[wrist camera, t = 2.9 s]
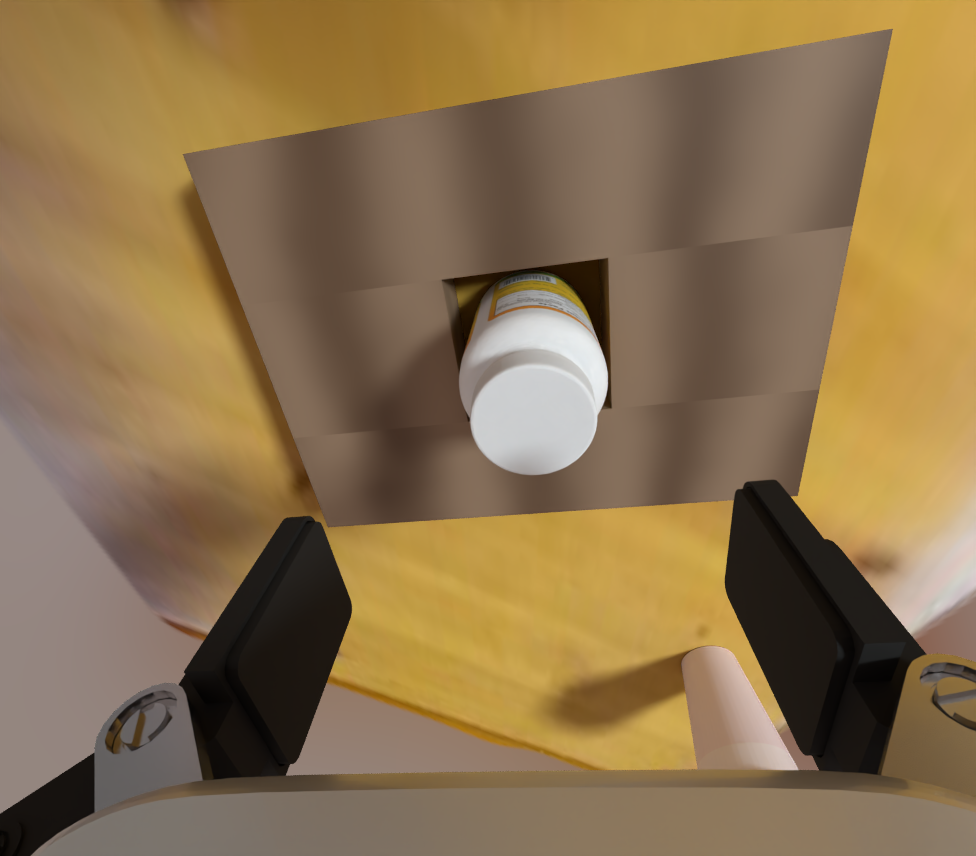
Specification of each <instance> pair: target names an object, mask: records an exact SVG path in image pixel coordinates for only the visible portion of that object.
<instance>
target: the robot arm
mask: <svg viewBox="0 0 976 856" xmlns="http://www.w3.org/2000/svg"><path fill="white" fill-rule="evenodd" d="M725 588H726V593H727V596H728V598H729V601H730V603H731V605H732V607H733V609H734V611H735V613H736V615H737V618H738V620H739V622H740V624H741V626H742V628H743V630H744V632H745V635H746V637H747V639H748V641H749V643H750V645H751V647H752V649H753V652H754V654H755V656H756V658H757V660H758V662H759V664H760V666H761V669H762V671H763V673H764V675H765V677H766V679H767V681H768V683H769V686H770V688H771V690H772V692H773V694H774V696H775V698H776V700H777V703H778V705H779V707H780V709H781V711H782V713H783V715H784V717H785V720H786V722H787V724H788V726H789V728H790V730H791V732H792V734H793V736H794V738H795V741H796V743H797V745H798V747H799V749H800V750H801V752H802V753H803V754H804V755H812V756H813V758H814V760H815V763H816V765H817V767H818V769H819V771H816V770H730V769H707V770H585V771H511V772H509V771H507V772H444V773H443V772H439V773H383V774H334V775H332V774H331V775H293V776H286V773H287V771H288V768H289V765H290V764H293V763H295V762H296V761H297V759H298V758H299V755H300V753H301V750H302V748H303V745H304V742H305V739H306V737H307V734H308V731H309V729H310V726H311V723H312V721H313V718H314V715H315V712H316V710H317V707H318V704H319V702H320V699H321V696H322V693H323V691H324V688H325V685H326V683H327V680H328V677H329V675H330V672H331V669H332V666H333V664H334V661H335V658H336V656H337V653H338V650H339V647H340V645H341V642H342V639H343V637H344V634H345V631H346V629H347V626H348V623H349V620H350V618H351V613H352V604H351V600H350V597H349V595H348V592H347V589H346V587H345V584H344V582H343V579H342V576H341V574H340V571H339V568H338V566H337V563H336V561H335V558H334V555H333V553H332V550H331V547H330V545H329V542H328V539H327V537H326V534H325V532H324V529H323V526H322V524H321V523H320V522H315V520H314V519H313V518H312V517H311V516H303V517H290V518H286V519H284V520H283V521H282V523H281V524H280V526H279V527H278V529H277V530H276V532H275V533H274V535H273V536H272V538H271V539H270V541H269V542H268V544H267V546H266V547H265V549H264V550H263V552H262V553H261V555H260V556H259V558H258V559H257V561H256V562H255V564H254V565H253V567H252V568H251V570H250V571H249V573H248V575H247V576H246V578H245V579H244V581H243V582H242V584H241V585H240V587H239V588H238V590H237V591H236V593H235V594H234V596H233V597H232V599H231V600H230V602H229V604H228V605H227V607H226V608H225V610H224V611H223V613H222V614H221V616H220V617H219V619H218V620H217V622H216V623H215V625H214V626H213V628H212V630H211V631H210V633H209V634H208V636H207V637H206V639H205V640H204V642H203V643H202V645H201V646H200V648H199V650H198V651H197V652H196V654H195V655H194V657H193V659H192V660H191V662H190V663H189V665H188V666H187V668H186V669H185V671H184V673H185V676H184V677H183V679H182V680H181V682H180V683H179V685H177V684H175V683H163V684H159V685H154V686H151V687H149V688H147V689H145V690H143V691H140V692H139V693H137V694H136V695H134V696H133V697H131V698H130V699H128V700H127V701H126V702H124V704H122V705H121V706H120V707H119V708H118V709H117V710H115V711H114V712H113V714H112V715H111V716H110V717H109V719H108V720H107V721H106V722H105V723H104V725H103V727H102V729H101V730H100V732H99V734H98V736H97V739H96V744H95V753H93V754H92V755H90V756H88V757H87V758H85V759H84V760H82V761H81V762H79V763H78V764H76V765H75V766H73V767H72V768H70V769H68V770H67V771H65V772H64V773H62V774H61V775H59V776H58V777H56V778H55V779H53V780H52V781H50V782H48V783H47V784H46V785H44V786H42V787H41V788H39V789H38V790H36V791H35V792H33V793H32V794H30V795H28V796H27V797H25V798H24V799H22V800H21V801H20V802H18V803H16V804H15V805H13V806H12V807H10V808H8V809H7V810H5V811H4V812H3V813H1V814H0V856H976V662H974V661H970V660H967V659H964V658H961V657H958V656H953V655H945V654H929V655H927V654H926V653H925V652H924V651H923V649H922V648H921V647H920V646H919V644H918V643H917V642H916V641H915V640H914V638H913V637H912V636H911V635H910V633H909V632H908V631H907V630H906V629H905V627H904V626H903V625H902V624H901V622H900V621H899V620H898V619H897V618H896V616H895V615H894V614H893V613H892V611H891V610H890V609H889V608H888V606H887V605H886V604H885V603H884V602H883V600H882V599H881V598H880V597H879V595H878V594H877V593H876V592H875V591H874V589H873V588H872V587H871V586H870V584H869V583H868V582H867V581H866V580H865V578H864V577H863V576H862V575H861V573H860V572H859V571H858V570H857V568H856V567H855V566H854V565H853V564H852V562H851V561H850V560H849V559H848V557H847V556H846V555H845V554H844V553H843V551H842V550H841V549H840V548H839V547H838V546H837V545H836V544H835V543H834V542H833V541H830V540H828V539H824V538H823V537H822V536H821V535H820V533H819V532H818V531H817V529H816V528H815V527H814V526H813V524H812V523H811V522H810V521H809V519H808V518H807V517H806V516H805V514H804V513H803V512H802V511H801V509H800V508H799V507H798V506H797V504H796V503H795V502H794V501H793V499H792V498H791V497H790V495H789V494H788V493H787V492H786V490H785V489H784V488H783V487H782V485H781V484H780V483H779V482H778V481H777V480H774V479H773V480H760V481H748V482H745V484H744V486H743V489H737V490H736V492H735V496H734V504H733V513H732V522H731V530H730V539H729V548H728V556H727V565H726V574H725Z"/></svg>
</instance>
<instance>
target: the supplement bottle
mask: <svg viewBox="0 0 976 856" xmlns="http://www.w3.org/2000/svg"><path fill="white" fill-rule="evenodd" d="M607 388H608V372H607V366H606V362H605V358H604V355H603V352H602V350H601V347H600V344H599V342H598V339H597V337H596V334H595V331H594V329H593V326H592V323H591V320H590V318H589V315H588V312H587V309H586V307H585V305H584V303H583V301H582V299H581V297H580V295H579V294H578V293H577V291H576V290H575V289H574V287H572V286H571V285H570V284H569V283H568V282H567V281H566V280H564V279H563V278H561V277H559V276H557V275H555V274H552V273H549V272H545V271H540V270H524V271H519V272H515V273H512V274H510V275H507V276H505V277H503V278H502V279H500V280H499V281H497V282H496V283H495V284H494V285H493V286H491V287H490V288H489V290H488V291H487V292H486V293H485V295H484V296H483V298H482V299H481V301H480V304H479V305H478V308H477V311H476V314H475V317H474V321H473V325H472V328H471V331H470V335H469V338H468V341H467V345H466V348H465V351H464V354H463V358H462V362H461V367H460V374H459V389H460V396H461V400H462V403H463V406H464V408H465V410H466V412H467V414H468V416H469V417H470V427H471V432H472V436H473V438H474V440H475V443H476V444H477V446H478V448H479V449H480V451H481V452H482V453H483V454H484V455H485V456H486V457H487V458H488V459H489V460H490V461H491V462H493V463H494V464H496V465H497V466H499V467H501V468H503V469H505V470H507V471H510V472H513V473H518V474H523V475H542V474H548V473H552V472H555V471H558V470H560V469H563V468H565V467H567V466H569V465H570V464H572V463H573V462H575V461H576V460H577V459H578V458H580V456H581V455H582V454H583V453H584V452H585V451H586V450H587V448H588V447H589V445H590V444H591V442H592V440H593V437H594V435H595V432H596V427H597V416H598V414H599V412H600V410H601V408H602V406H603V404H604V401H605V398H606V394H607Z"/></svg>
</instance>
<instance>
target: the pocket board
mask: <svg viewBox="0 0 976 856" xmlns="http://www.w3.org/2000/svg"><path fill="white" fill-rule="evenodd" d="M892 30H893V29H889V30H883V31H878V32H872V33H866V34H861V35H855V36H849V37H844V38H838V39H832V40H827V41H821V42H815V43H810V44H804V45H798V46H793V47H787V48H781V49H776V50H770V51H764V52H759V53H753V54H747V55H742V56H736V57H730V58H725V59H719V60H713V61H708V62H702V63H696V64H691V65H685V66H680V67H674V68H668V69H663V70H657V71H651V72H646V73H640V74H634V75H629V76H623V77H617V78H612V79H606V80H600V81H595V82H589V83H583V84H578V85H572V86H566V87H561V88H555V89H549V90H544V91H538V92H532V93H527V94H521V95H515V96H510V97H504V98H498V99H493V100H487V101H481V102H476V103H470V104H464V105H459V106H453V107H448V108H442V109H436V110H431V111H425V112H419V113H414V114H408V115H402V116H397V117H391V118H385V119H380V120H374V121H368V122H363V123H357V124H351V125H346V126H340V127H334V128H329V129H323V130H317V131H312V132H306V133H300V134H295V135H289V136H283V137H278V138H272V139H266V140H261V141H255V142H249V143H244V144H238V145H233V146H227V147H221V148H216V149H210V150H204V151H199V152H193V153H187V154H183V156H184V158H185V161H186V163H187V166H188V169H189V171H190V174H191V176H192V179H193V181H194V184H195V187H196V189H197V192H198V194H199V197H200V199H201V202H202V205H203V207H204V210H205V212H206V215H207V217H208V220H209V222H210V225H211V228H212V230H213V233H214V235H215V238H216V240H217V243H218V246H219V248H220V251H221V253H222V256H223V258H224V261H225V264H226V266H227V269H228V271H229V274H230V276H231V279H232V282H233V284H234V287H235V289H236V292H237V294H238V297H239V300H240V302H241V305H242V307H243V310H244V312H245V315H246V318H247V320H248V323H249V325H250V328H251V330H252V333H253V336H254V338H255V341H256V343H257V346H258V348H259V351H260V354H261V356H262V359H263V361H264V364H265V366H266V369H267V372H268V374H269V377H270V379H271V382H272V384H273V387H274V390H275V392H276V395H277V397H278V400H279V402H280V405H281V408H282V410H283V413H284V415H285V418H286V420H287V423H288V426H289V428H290V431H291V433H292V436H293V438H294V441H295V444H296V446H297V449H298V451H299V454H300V456H301V459H302V462H303V464H304V467H305V469H306V472H307V474H308V477H309V480H310V482H311V485H312V487H313V490H314V492H315V495H316V498H317V500H318V503H319V505H320V508H321V510H322V513H323V516H324V518H325V521H326V523H327V526H328V527H339V526H354V525H369V524H384V523H399V522H414V521H429V520H444V519H459V518H473V517H488V516H503V515H518V514H533V513H548V512H563V511H578V510H593V509H608V508H623V507H638V506H653V505H668V504H682V503H697V502H712V501H727V500H734V496H735V492H736V490H737V489H743V486H744V484H745V482H748V481H760V480H773V479H774V480H777V481H778V482H779V483H780V484H781V485H782V487H783V488H784V489H785V490H786V492H787V493H788V494H789V495H790V496H798V492H799V487H800V482H801V477H802V472H803V467H804V462H805V457H806V452H807V447H808V443H809V438H810V433H811V428H812V423H813V418H814V413H815V408H816V403H817V398H818V393H819V388H820V384H821V379H822V374H823V369H824V364H825V359H826V354H827V349H828V344H829V339H830V334H831V330H832V325H833V320H834V315H835V310H836V305H837V300H838V295H839V290H840V285H841V280H842V275H843V271H844V266H845V261H846V256H847V251H848V246H849V241H850V236H851V231H852V226H853V221H854V217H855V212H856V207H857V202H858V197H859V192H860V187H861V182H862V177H863V172H864V167H865V163H866V158H867V153H868V148H869V143H870V138H871V133H872V128H873V123H874V118H875V113H876V108H877V104H878V99H879V94H880V89H881V84H882V79H883V74H884V69H885V64H886V59H887V54H888V50H889V45H890V40H891V35H892ZM595 259H599V272H600V304H601V336H602V352H603V355H604V358H605V362H606V366H607V372H608V388H607V394H606V398H605V401H604V404H603V406H602V408H601V410H600V412H599V414H598V416H597V427H596V432H595V435H594V437H593V440H592V442H591V444H590V445H589V447H588V448H587V450H586V451H585V452H584V453H583V454H582V455H581V456H580V458H578V459H577V460H576V461H575V462H573V463H572V464H570V465H569V466H567V467H565V468H563V469H560V470H558V471H555V472H552V473H548V474H542V475H523V474H518V473H513V472H510V471H507V470H505V469H503V468H501V467H499V466H497V465H496V464H494V463H493V462H491V461H490V460H489V459H488V458H487V457H486V456H485V455H484V454H483V453H482V452H481V451H480V449H479V448H478V446H477V444H476V443H475V440H474V438H473V436H472V432H471V427H470V417H469V416H468V414H467V412H466V410H465V408H464V406H463V403H462V400H461V396H460V389H459V374H460V367H461V362H462V358H463V354H464V351H465V348H466V346H465V341H464V335H463V329H462V323H461V317H460V312H459V306H458V300H457V294H456V289H455V283H454V278H458V277H466V276H473V275H481V274H489V273H496V272H504V271H511V270H519V269H527V268H534V267H542V266H550V265H557V264H565V263H573V262H580V261H588V260H595Z"/></svg>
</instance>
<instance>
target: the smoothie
mask: <svg viewBox="0 0 976 856" xmlns="http://www.w3.org/2000/svg"><path fill="white" fill-rule="evenodd" d="M681 667H682V673H683V679H684V686H685V692H686V698H687V705H688V711H689V717H690V724H691V730H692V737H693V743H694V749H695V756H696V762H697V768H698V769H697V770H707V769H730V770H798V768H797V766H796V764H795V762H794V760H793V759H792V757H791V755H790V754H789V752H788V750H787V749H786V747H785V745H784V743H783V741H782V739H781V738H780V736H779V734H778V732H777V731H776V729H775V727H774V725H773V723H772V722H771V720H770V718H769V716H768V714H767V713H766V711H765V709H764V707H763V706H762V704H761V702H760V700H759V698H758V697H757V695H756V693H755V691H754V690H753V688H752V686H751V684H750V682H749V681H748V679H747V677H746V675H745V674H744V672H743V670H742V668H741V666H740V665H739V663H738V661H737V659H736V657H735V656H734V654H733V653H732V652H731V651H729V650H728V649H726V648H723V647H718V646H705V647H700V648H697V649H694V650H692V651H690V652H689V653H687V654H686V655H685V656H684V658H683V659H682V662H681Z"/></svg>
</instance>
